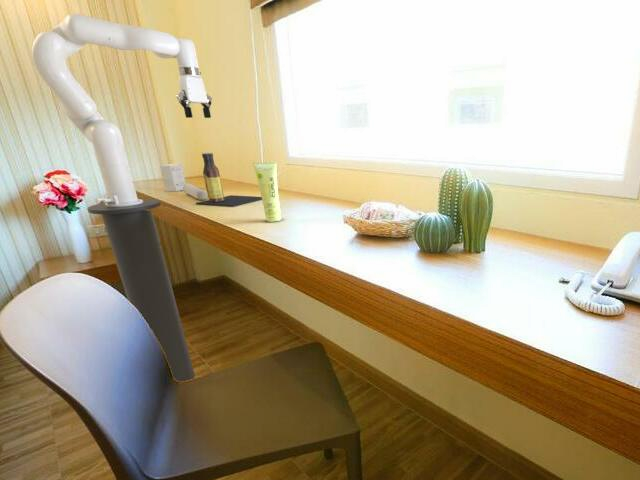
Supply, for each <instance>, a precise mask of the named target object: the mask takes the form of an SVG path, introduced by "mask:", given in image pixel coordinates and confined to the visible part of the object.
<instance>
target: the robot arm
mask: <svg viewBox="0 0 640 480" xmlns="http://www.w3.org/2000/svg"><path fill="white" fill-rule="evenodd" d="M88 44H91V45H95V46H101V47H106V48H111V49H115V50H119V51H139V50H140V51H148V52H149V51H150V52H152V53H153V54H154V55H156V57H159V58H160V59H166V60H167V59H176V62H177V66H178V71H179V76H178V90H179V93H177V94H176V95H175V97H176V99H177V101H178V103H179V104H180V105H181V107H182V108H183V110H184V116H185V118H186V119H189V118H190V119H191V118H194V117H193V112H192V108H191V107H190V106H191V104H200V105H201V106H202V112H203V117H204V118H205V119H211V117H212V116H211V115H212V114H211V109H210V108H211V105H212V101H213V97H211V96H210V95H209V94H207V90H206V86H205V83H204V80H203V78H202V76H201V75H202V73H201V71H200V67H199V61H198V56H197V50H196V46H195V42H194V41H193V40H192V39H190V38H185V37H177V38H176V37H175V36H174V35H172V34H171V33H168V32H165V31H161V30H157V29H154V28H148V27H143V26H137V25H130V24H124V23H118V22H114V21H110V20H105V19H101V18H98V17H93V16H89V15H85V14H81V13H69V14H67V15H66V16H65V17H64V19H63V20H62V21H61V22H60V23H59V24H57V25H56V26H54V27H53V28H51V29H50V30H45V31H41V32H39V33H38V34H37V35H36V36H35V38H34V41H33V44H32V47H31V58H32V62H33V66H34V68H35V70H36V72H37V74H38V75H39V77H40V78H41V79H42V81H43V82H44V83H45V84H46V86H47V87H48V89H49V90H50V91H51V92H52V93H53V94H54V96H55V97H56V98H57V99H58V100H59V101H60V107H61V109H62V111H63V113H64V114H65V115H66V116H67V118H68V119H69V120H70V121H71V123H73V125H74V126H75V127H76V128H77V129H78V131H79V132H81V134H82V135H83V136H84V137H85V138H86V139H87V140H88V141H89V142H90V143H91V144H92V146H93V150H94V154H95V155H94V156H95V159H96V162H97V165H98V168H99V172H100V175H101V178H102V182H103V185H104V188H105V191H106V194H104V196H103V197H99V198H95V200H94V201H95V204H96V205H97V204H101V203H105V205H106V207H126V206H133V205H138V204H142V203H143V200H141V199H142V198H138V195H137V191H136V187H135V184H134V179H133V176H132V173H131V169H130V164H129V162H128V158H127V154H126V149H125V143H124V137H123V135H122V132H121V130H120V129H119V127H118V126H117V125H116V124H114V123H113V122H111V121H108V120H105V119H104V117H103V116H102V115H101V114H100V113H99V111H98V106H97V104H96V102H95V101H94V99H93V98H92V97H91V96H90V95H89V94H88V92H86V90H85V89H84V88H83V87H82V85H81V84H80V83H79V81H77V79H76V78H75V76H74V75H73V74H72V73H71V71H70V70H69V68H68V65H67V61H66V60H67V59H69V58H70V57H71V56H73V55H74V54H76V53H77V52H79V51H80V50H81V49H83V48H84V47H86V46H87V45H88Z"/></svg>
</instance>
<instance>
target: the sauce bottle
mask: <svg viewBox="0 0 640 480" xmlns="http://www.w3.org/2000/svg"><path fill="white" fill-rule="evenodd" d="M201 156H202V158H203V164H204V165H203V170H202V174H203V175H202V176H203V179H204V183H205V184H204V185H205V189H206V193H207V198H208V200H210V202H221V201H224V197H225V194H224V189H223V188H224V187H223V183H222V178H221V175H220V170H219V167H217V166H216V164H215V160H214V153H213V152H201Z"/></svg>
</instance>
